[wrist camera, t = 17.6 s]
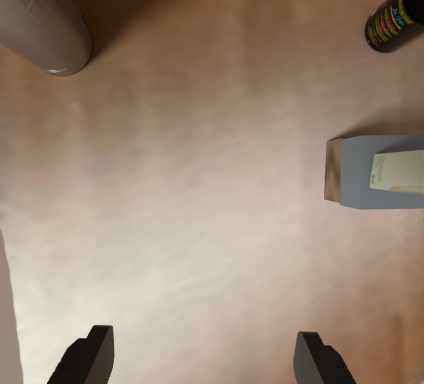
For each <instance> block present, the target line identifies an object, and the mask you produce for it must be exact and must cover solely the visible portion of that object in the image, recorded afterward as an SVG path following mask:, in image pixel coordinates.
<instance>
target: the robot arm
mask: <svg viewBox="0 0 424 384" xmlns="http://www.w3.org/2000/svg"><path fill="white" fill-rule="evenodd" d="M0 43H1V44H3V45H4V46H6V47H7V48H9V49H10V50H12V51H13V52H15V53H16V54H18V55H20V56H21V57H23V58H24V59H26V60H27V61H29V62H30V63H32V64H34V65H35V66H36V67H38V68H39V69H41V70H43V71H45V72H46V73H49V74H51V75H56V76H67V75H71V74H74V73H76V72H78V71H79V70H80V69H81V68H83V67H84V66H85V64H86V63H87V62H88V59H89V57H90V55H91V50H92V40H91V35H90V33H89V30H88V28H87V27H86V25H85V24H84V22H83V20H82V13H81V11H80V10H79V9H78V7H77V6H76V5H75V3H74V2H73V1H72V0H0ZM113 363H114V335H113V326H110V325H94V326H93V327H92V329H91V331H90V332H89V334H88V336H87V338H78V339H77V340H76V341H75V342H74V343H73V344H72V345H71V346H69V347H68V348H67V350H66V352H65V353H64V355H63V357H62V359H61V362H59V364H58V365H57V367H56V369H55V372H53V374H52V375H51V377H50V379H49V381H48V382H47V384H107V383H108V380H109V377H110V374H111V372H112V368H113ZM293 366H294V373H295V377H296V380H297V383H298V384H356V382H355V380H354V379H353V377H352V375H351V373H350V371H349V370H348V369H347V366H346V364H345V362H344V361H343V359H342V357H341V355H340V354H339V353H338V352H337V351H335V350H334V349H333V348H332V347H331V346H328V345H324V344H323V342H322V340H321V338H320V336H319V335H318V333H317V332H301V331H300V332H298V334H297V340H296V347H295V353H294V360H293Z"/></svg>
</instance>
